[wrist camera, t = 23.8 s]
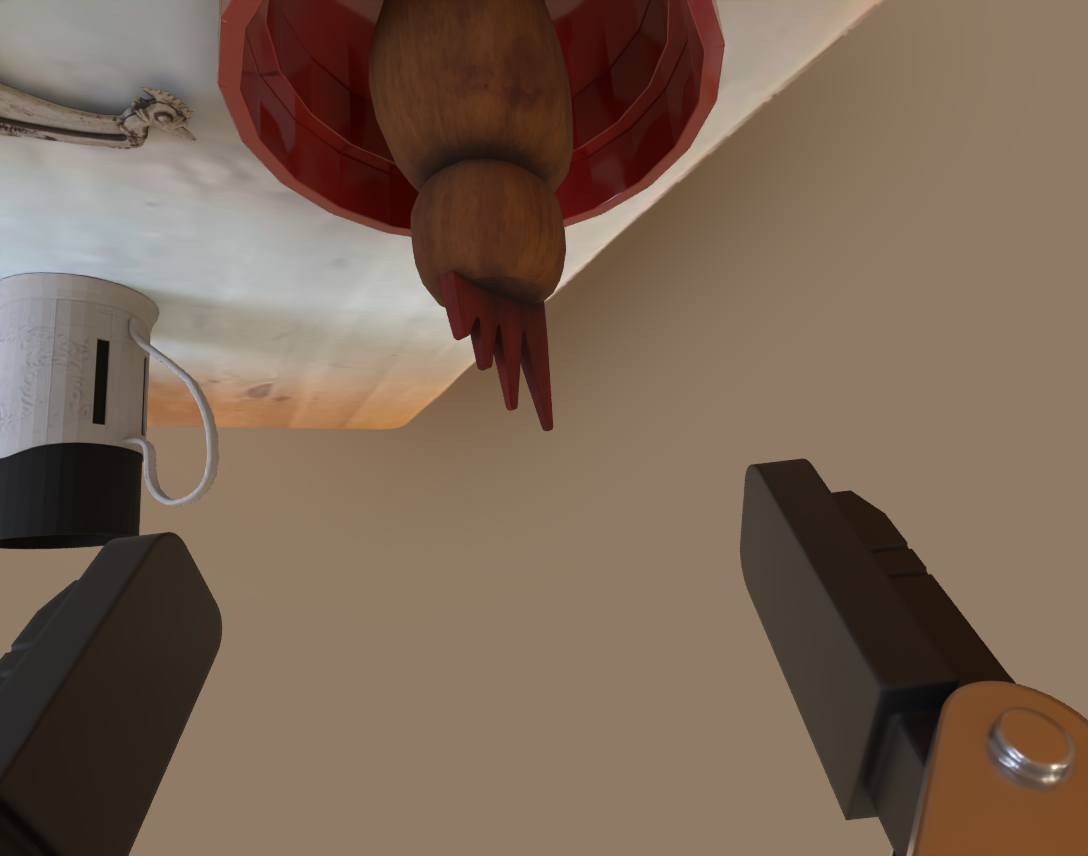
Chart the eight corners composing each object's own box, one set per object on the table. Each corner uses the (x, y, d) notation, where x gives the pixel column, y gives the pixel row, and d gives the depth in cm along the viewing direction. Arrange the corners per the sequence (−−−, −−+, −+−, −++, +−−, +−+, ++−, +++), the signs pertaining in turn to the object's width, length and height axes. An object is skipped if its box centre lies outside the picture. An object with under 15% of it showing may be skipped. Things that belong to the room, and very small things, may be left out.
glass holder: (-50, 288, 39) (-80, 547, 35) (165, 244, 36) (156, 516, 33) (79, 339, 47) (65, 552, 44) (260, 305, 45) (261, 527, 41)
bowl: (423, 172, 32) (430, 275, 31) (103, -92, 19) (92, 69, 18) (736, 37, 26) (760, 159, 25) (584, -502, 13) (619, -296, 11)
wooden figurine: (578, 36, 24) (630, 428, 21) (440, 86, 26) (466, 456, 23) (508, -144, 18) (565, 372, 15) (333, -62, 20) (348, 416, 17)
